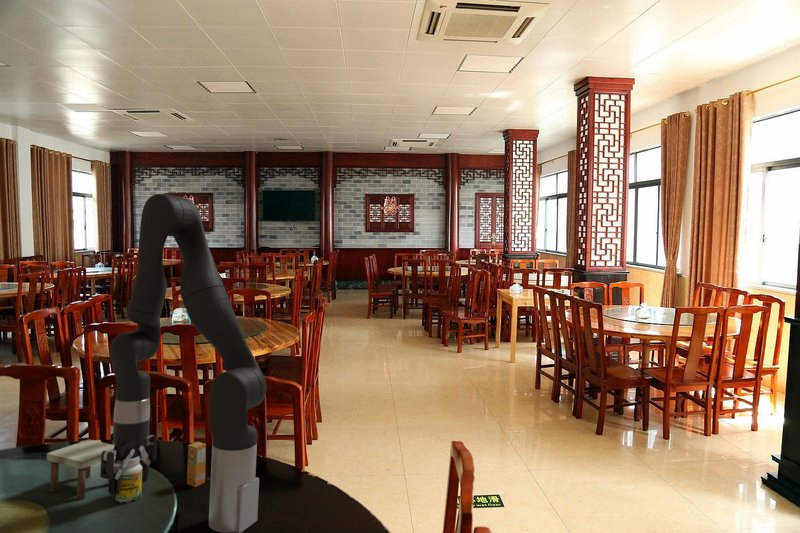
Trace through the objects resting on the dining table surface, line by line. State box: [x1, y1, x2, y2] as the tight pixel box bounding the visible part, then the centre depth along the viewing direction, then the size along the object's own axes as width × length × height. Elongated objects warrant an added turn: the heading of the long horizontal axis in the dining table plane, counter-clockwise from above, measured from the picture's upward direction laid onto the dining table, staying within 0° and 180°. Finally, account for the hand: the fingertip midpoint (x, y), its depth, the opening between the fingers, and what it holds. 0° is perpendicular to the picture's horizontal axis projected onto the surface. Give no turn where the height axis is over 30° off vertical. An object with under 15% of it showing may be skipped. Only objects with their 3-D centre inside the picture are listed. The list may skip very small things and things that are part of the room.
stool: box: [46, 439, 118, 501], centre depth 130 cm, size 11×11×9 cm
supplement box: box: [186, 441, 207, 488], centre depth 135 cm, size 3×3×10 cm
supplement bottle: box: [115, 456, 143, 502], centre depth 125 cm, size 5×5×10 cm
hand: (128, 487), depth 125 cm, fingers open, 7 cm apart
